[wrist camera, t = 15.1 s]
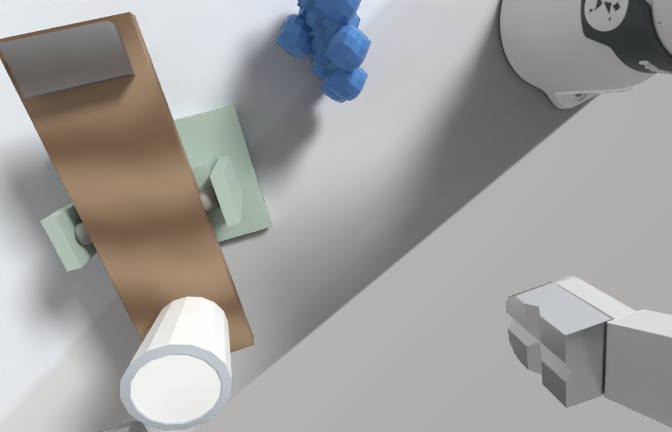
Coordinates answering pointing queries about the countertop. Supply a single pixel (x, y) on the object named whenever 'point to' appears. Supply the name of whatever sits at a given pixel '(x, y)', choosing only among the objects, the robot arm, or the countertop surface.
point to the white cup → (180, 367)
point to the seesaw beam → (124, 166)
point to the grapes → (329, 44)
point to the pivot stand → (209, 171)
